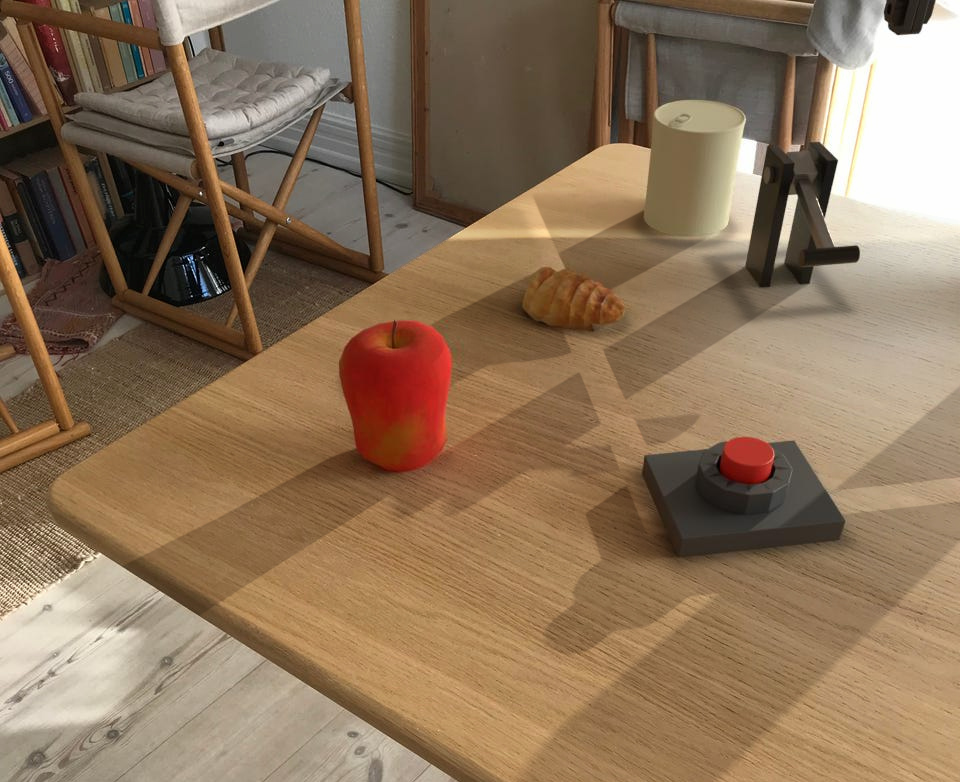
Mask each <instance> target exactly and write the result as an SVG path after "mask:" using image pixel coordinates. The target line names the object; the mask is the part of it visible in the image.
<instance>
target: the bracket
mask: <svg viewBox="0 0 960 782" xmlns="http://www.w3.org/2000/svg"><path fill="white" fill-rule="evenodd" d="M807 151H810V153H811V156H812V158H813V161H814V163H815V166H816V169H817V171H818V174H817V176H816V178H815V181H814V183H813V186H812V187H813V190H814V192H815V195H816V198H817V200H818V203H819V206H820V208H821V211H822V214H823V216H824V219H825V220H826V215H827V210H828V207H829V202H830V199H831V193H832V189H833V185H834V180H835V175H836V172H837V167H838V164H839V163H838V162H839V159H838V158H837V157H835V155H834V154H833V153H832V152H831V151H830V150H829V149H828V148H826V146H824V144H823V143H822V142H821V141H809V143H808V147H807ZM786 153H787V152H786V151H784V150H783V149H782V148H781V147H780V145H778V144H769V145H766V152H765V156H764V160H763V161H764V162H763V167H762V173H761V178H760V182H759V183H760V184H759V189H758V193H757V194H758V195H757V200H756V206H755V211H754V216H753V221H752V228H751V233H750V238H749V242H748V243H749V244H748V249H747V254H746V261H745V269H746V271H747V272H748V273H749V275H750V276H751V277H752V278H753V279H754V282H755V283H756V284H757V286H758V287H759V288H762V289H763V288H770V287H771V283H772V278H773V273H774V269H775V264H776V259H777V253H778V248H779V244H780V238H781V233H782V228H783V224H784V219H785V214H786V209H787V204H788V199H789V196H790V195H789V190H790V185H791V180H792V175H793V170H794V165H795V163H794V162H793V161H792V160H791V159H790V158H789V157H788V155H787V154H786ZM803 249H816V245H815V242H814V239H813V237H812V234H811V231H810V229H809V226H808V223H807V220H806V218H805V215H804V212H803V209H802V207H801V204H800V201H799V199H798V198H797V200H796V203H795V209H794V214H793V219H792V224H791V228H790V233H789V238H788V243H787V247H786V252H785V257H784V262H783V265H784V266H785V267H786V268H787V270H788V271H789V272H790V273H791V275H792V276H793V277H794V278H795V280H796V282H798V284H799V285H808V284H811V280H812V275H813V271H814V267H815V266H810V267H800V265H799V262H798V257H799V253H800V251H801V250H803Z"/></svg>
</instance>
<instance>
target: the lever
mask: <svg viewBox="0 0 960 782" xmlns="http://www.w3.org/2000/svg"><path fill="white" fill-rule="evenodd" d="M785 153H786V154H787V155H788V157H789V158H790V159H791V160H792V161H793V162H794V163H795V165H794V170H793V175H792V180H791V185H790V190H789V195H788V196H796V195H797V199H799V201H800V204H801V207H802V209H803V212H804V215H805V218H806V220H807V223H808V226H809V229H810V231H811V234H812V237H813V239H814V242H815V245H816V249H803V250H801V251H800V253H799V257H798V262H799V265H800V267H810V266H814V267H821V266H833V265H843V264H846V265H847V264H856V263H858V261H859V260H860V256H861V249H860V247H859V246H858V245H857V244H855V245H854V244H853V245H841V246H835V244H834V241H833V237H832V235H831V233H830V230H829V227H828V225H827V222H826V218H825V219H824V216H823V214H822V211H821V208H820V206H819V203H818V200H817V198H816V195H815V192H814V190H813V187H812V186H813V183H814V181H815V178H816V176H817V174H818V171H817V169H816V166H815V163H814V161H813V158H812V156H811V153H810V151H808V150H798V151H787V152H785Z"/></svg>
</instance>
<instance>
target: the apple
mask: <svg viewBox="0 0 960 782" xmlns="http://www.w3.org/2000/svg"><path fill="white" fill-rule="evenodd" d="M452 360H453V359H452V353H451V350H450V348H449V346H448V345H447V343H446V341H445V339H444V337H443V335H442V334H441V333H439V332H438V331H437V330H436V329H435V327H433V326H431V325H429V324H426V323H424V322H421V321H419V320H405V319H404V320H399V319H397V320H395V319H393V321H386V322H381V323H377V324H375V325H372V326H370V327H367V328H365V329H362V330H360V331H359V332H358V333H356V334H355V335H354V336H352V337H351V338H350V339H349V341H348V342H347V344H345V346H344V348H343V351H342V353H341V357H340V359H339V361H338V375H339V380H340V385H341V389H342V394H343V396H344V400H345V403H346V406H347V410H348V412H349V415H350V418H351V423H352V429H353V435H354V442H355V446H356V447H355V449H356V450H357V452H358V453H359V454H360V455H361V456H362V457H363V459H365V460H367V461H368V462H370V463H372V464H374V465H376V466H378V467H381V468H382V469H384V470H385V471H391V472H397V473H400V472H411V471H414V470H415V471H416V470H417V469H421V468H424V467H425V466H426V465H428V464H429V463H430V462H432V461H433V460H434V459H435V458H436V457H437V456H438V455H439V454H441V452H442V451H443V450H444V448H445V445H446V443H447V441H448V437H447V436H448V435H447V434H448V433H447V416H446V414H447V413H446V412H447V411H446V410H447V405H448V399H449V392H450V386H451V378H452V369H453V361H452Z"/></svg>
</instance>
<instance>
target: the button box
mask: <svg viewBox="0 0 960 782" xmlns="http://www.w3.org/2000/svg"><path fill="white" fill-rule="evenodd" d="M728 441H729V440H727V441H720V442H718V443H716V444H714V445H712V446H711V447H709V448H703V449H693V450H683V451H674V452H663V453H654V454H653V453H651V454H645V455H644V456H643V462H642V463H643V464H642V470H641V476H642V478H643V481H644V483H645V485H646V487H647V490H648V492H649V494H650V496H651V498H652V501H653V503H654V505H655V507H656V510H657V513H658V514H659V517H660V519H661V521H662V523H663V526H664V528H665V531H666V532H667V535H668V538H669V540H670V542H671V544H672V547H673V548H674V551H675V553H676V556H677V558H678V559H681V558H691V557H698V556H699V557H700V556H709V555H717V554H726V553H735V552H744V551H745V552H746V551H753V550H762V549H771V548H781V547H789V546H799V545H808V544H817V543H825V542H834V541H840V540H841V537H842V533H843V531H844V527H845V524H846V519H845V517H844V516H843V514H842V513H841V511H840V510H839V508H838V506H837V505H836V503H835V502H834V500H833V499H832V497H831V495H830V494H829V492H828V491H827V489H826V487H825V486H824V484H823V483H822V481H821V480H820V478H819V476H818V475H817V473H816V472H815V470H814V468H813V467H812V465H811V463H810V462H809V460H808V459H807V458H806V456H805V454H804V453H803V451H802V450H801V448H800V447H799V445H798V443H797V441H796V440H783V441H773V442H767V443H768V444H769V445H770V446H771V447H772V449H773V450H774V459H773V464H772V468H771V472H770V476H769V478H768V479H767V480H766V481H764V482H763V483H759V484H749V485H747V484H743V483H738V482H733V481H731V480H729V479H728V478H726V477H724V476H723V475H722V474H721V472H720V462H721V457H722V452H723V447H724V445H725V444H726V443H727V442H728Z"/></svg>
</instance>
